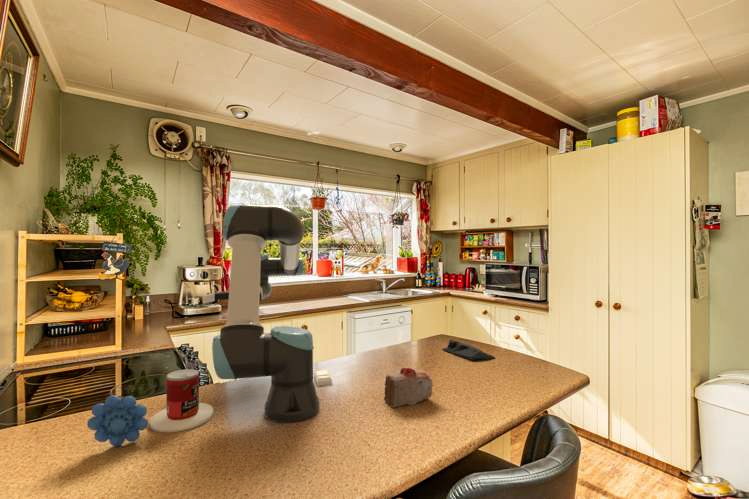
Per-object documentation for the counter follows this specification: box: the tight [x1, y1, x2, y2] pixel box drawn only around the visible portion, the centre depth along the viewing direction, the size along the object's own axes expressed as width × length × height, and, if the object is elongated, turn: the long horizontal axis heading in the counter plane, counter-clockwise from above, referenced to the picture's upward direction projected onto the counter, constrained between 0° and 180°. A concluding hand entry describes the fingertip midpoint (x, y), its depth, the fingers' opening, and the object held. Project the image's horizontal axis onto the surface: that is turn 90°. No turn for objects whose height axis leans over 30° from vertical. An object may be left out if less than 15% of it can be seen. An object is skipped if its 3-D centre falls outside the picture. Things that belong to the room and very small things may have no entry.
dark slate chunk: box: [442, 339, 496, 361], centre depth 159 cm, size 15×22×5 cm
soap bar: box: [313, 369, 333, 387], centre depth 126 cm, size 5×9×3 cm, turn 16°
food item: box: [383, 367, 433, 408], centre depth 109 cm, size 14×8×10 cm, turn 118°
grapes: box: [86, 394, 149, 447], centre depth 83 cm, size 12×7×12 cm, turn 122°
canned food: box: [165, 368, 200, 420], centre depth 98 cm, size 8×8×11 cm
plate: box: [149, 402, 214, 434], centre depth 97 cm, size 15×15×1 cm
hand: (223, 299), depth 121 cm, fingers open, 13 cm apart
